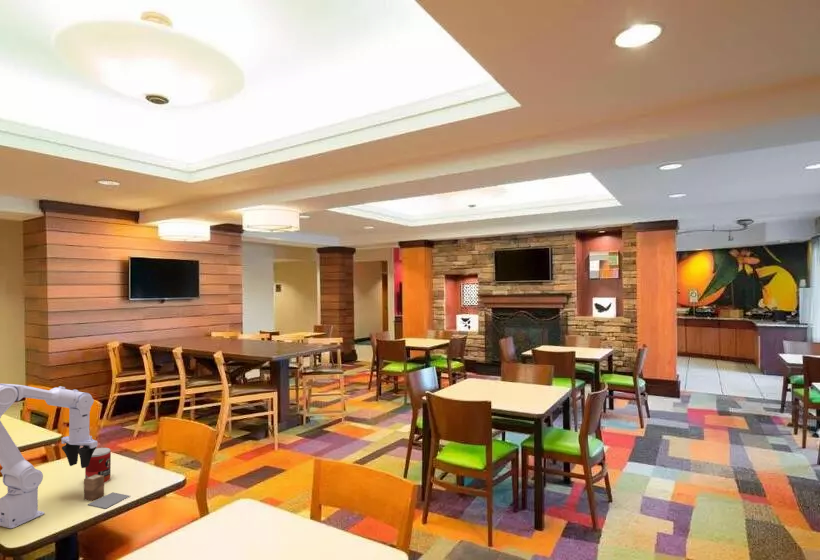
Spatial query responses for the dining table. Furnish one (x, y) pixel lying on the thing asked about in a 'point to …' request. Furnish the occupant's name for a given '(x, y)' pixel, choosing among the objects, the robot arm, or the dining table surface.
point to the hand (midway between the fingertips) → (79, 465)
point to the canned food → (100, 464)
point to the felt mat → (108, 500)
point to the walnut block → (93, 487)
